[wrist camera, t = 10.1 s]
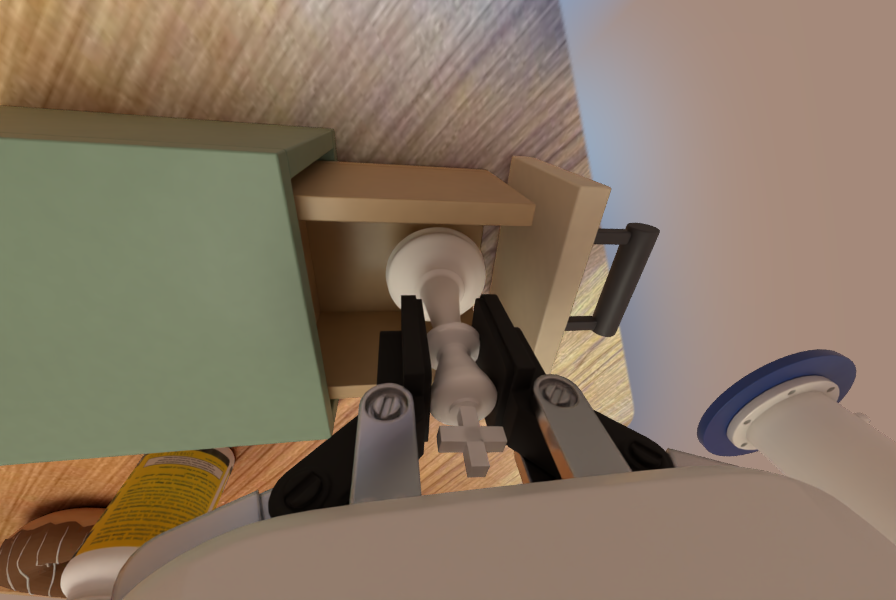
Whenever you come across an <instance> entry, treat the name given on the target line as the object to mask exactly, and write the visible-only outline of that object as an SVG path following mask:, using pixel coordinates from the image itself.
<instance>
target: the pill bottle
mask: <svg viewBox="0 0 896 600" xmlns="http://www.w3.org/2000/svg"><path fill="white" fill-rule="evenodd" d="M234 462H235V459H234V455H233V452H232V451H231V449H230V448H229V447H224V448H211V449H199V450H187V451H174V452H162V453H150V454H144V456H143V457H142V458H141V460H140V461H139V463H138V464H137V466H136V467H135V469H134V470H133V471H132V473H131V474H130V476H129V477H128V479H127V480H126V481H125V483H124V484H123V485H122V487H121V488H120V490H119V491H118V493H117V494H116V495H115V497H114V498H113V500H112V501H111V502H110V504H109V505H108V507H107V508H106V510H105V511H104V512H103V514H102V515H101V517H100V518H99V520H98V521H97V522H96V524H95V525H94V527H93V528H92V530H91V531H90V533H89V534H88V535H87V536H86V538H85V540H84V541H83V543H82V544H81V545H80V547H79V548H78V550H77V551H76V552H75V554H74V555H73V557H72V558H71V560H70V561H69V563H68V564H67V566H66V568H65V569H64V571H63V573H62V576H61V583H60V585H61V589H62V592H63V593H64V595H65V596H66V597H67V599H66V600H111V595H112V590H113V586H114V583H115V581H116V578H117V576H118V573H119V571H120V569H121V568H122V567H123V565H124V564H125V563H126V561H127V560H128V558H129V557H130V556H131V555H132V554H133V553H134V552H135V551H136V550H137V549H138V548H140V547H141V546H142V545H143V544H144V543H145V542H147V541H149V540H150V539H152V538H154V537H155V536H157V535H159V534H161V533H163V532H165V531H167V530H169V529H172V528H174V527H176V526H178V525H181V524H183V523H185V522H187V521H190V520H192V519H194V518H196V517H199V516H201V515H203V514H205V513H208V512H210V511H212V510H214V509H216V506H217V504H218V502H219V499H220V497H221V495H222V492H223V490H224V488H225V486H226V483H227V481H228V479H229V476H230V474H231V472H232V469H233V466H234Z"/></svg>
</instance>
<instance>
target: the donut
mask: <svg viewBox="0 0 896 600" xmlns="http://www.w3.org/2000/svg"><path fill="white" fill-rule="evenodd" d="M105 510H106V509H105V508H76V509H68V510H62V511H58V512H54V513H50V514H47V515H45V516H42V517H40V518H37V519H35V520H33V521H31V522H29V523H28V524H26V525H24V526H23V527H21V528H20V529H19V530H17V531H16V532H15V533H14V534H13V535H12V536H10V537H9V538H8V539H5V541H4V542H3V544H2V546H1V547H0V586H3V587H6V588H9V589H12V590H15V591H20V592H25V593H29V594H31V595H33V594H36V595H43V596H49V597H61V598H67V597H66V596H65V595H64V593H63V592H62V589H61V585H60V583H61V576H62V573H63V571H64V569H65V568H66V566H67V564H68V563H69V561H70V560H71V558H72V557H73V555H74V554H75V552H76V551H77V550H78V548H79V547H80V545H81V544H82V543H83V541H84V540H85V538H86V536H87V535H88V534H89V533H90V531H91V530H92V528H93V527H94V525H95V524H96V522H97V521H98V520H99V518H100V517H101V515H102V514H103V512H104V511H105Z"/></svg>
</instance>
